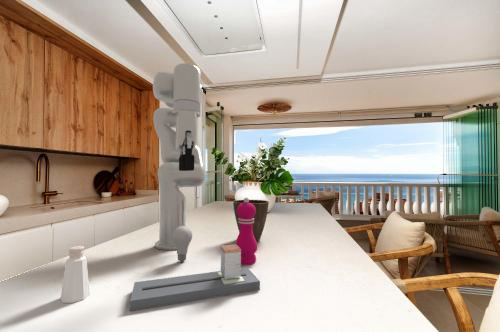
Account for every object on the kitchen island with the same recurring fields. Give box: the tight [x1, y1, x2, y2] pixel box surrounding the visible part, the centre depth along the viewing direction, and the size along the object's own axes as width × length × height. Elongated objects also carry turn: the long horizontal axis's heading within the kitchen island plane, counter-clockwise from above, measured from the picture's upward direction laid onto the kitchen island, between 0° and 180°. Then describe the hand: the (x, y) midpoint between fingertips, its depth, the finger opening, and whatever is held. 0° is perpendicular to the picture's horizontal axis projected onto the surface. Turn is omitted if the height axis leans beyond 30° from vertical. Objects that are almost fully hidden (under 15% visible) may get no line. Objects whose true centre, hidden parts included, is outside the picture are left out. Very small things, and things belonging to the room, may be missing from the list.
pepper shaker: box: [59, 245, 91, 304], centre depth 55 cm, size 5×5×11 cm
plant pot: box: [232, 199, 270, 243], centre depth 103 cm, size 15×15×16 cm
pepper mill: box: [234, 197, 258, 266], centre depth 78 cm, size 7×7×20 cm
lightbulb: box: [172, 226, 193, 263], centre depth 77 cm, size 6×6×11 cm
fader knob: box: [220, 243, 242, 279], centre depth 61 cm, size 4×4×7 cm
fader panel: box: [129, 267, 261, 312], centre depth 58 cm, size 9×28×2 cm, turn 110°
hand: (186, 170), depth 69 cm, fingers open, 9 cm apart
